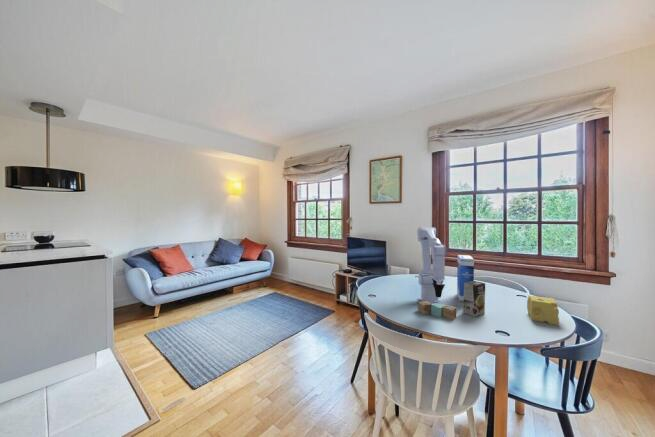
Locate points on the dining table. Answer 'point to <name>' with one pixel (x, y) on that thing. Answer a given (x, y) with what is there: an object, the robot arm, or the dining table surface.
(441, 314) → the plain block
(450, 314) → the digit block seven
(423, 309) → the digit block one
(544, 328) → the dining table surface
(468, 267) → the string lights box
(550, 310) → the cheese
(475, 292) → the coffee box
